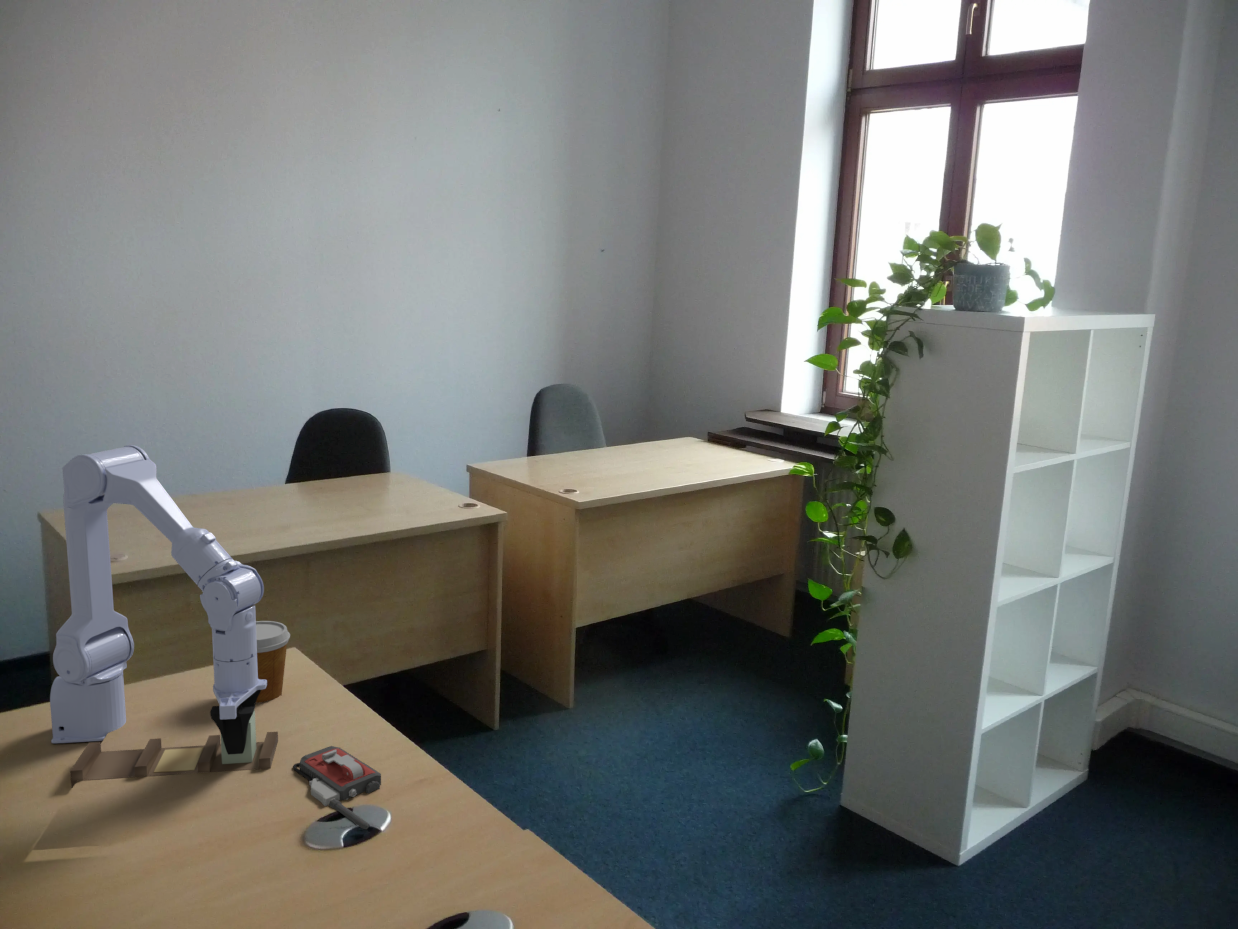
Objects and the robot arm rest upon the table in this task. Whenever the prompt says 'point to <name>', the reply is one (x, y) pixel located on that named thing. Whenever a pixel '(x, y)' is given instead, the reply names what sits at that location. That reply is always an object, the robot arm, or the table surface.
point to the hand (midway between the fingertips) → (238, 744)
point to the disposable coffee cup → (271, 657)
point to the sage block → (249, 747)
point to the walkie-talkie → (338, 778)
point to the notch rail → (165, 760)
